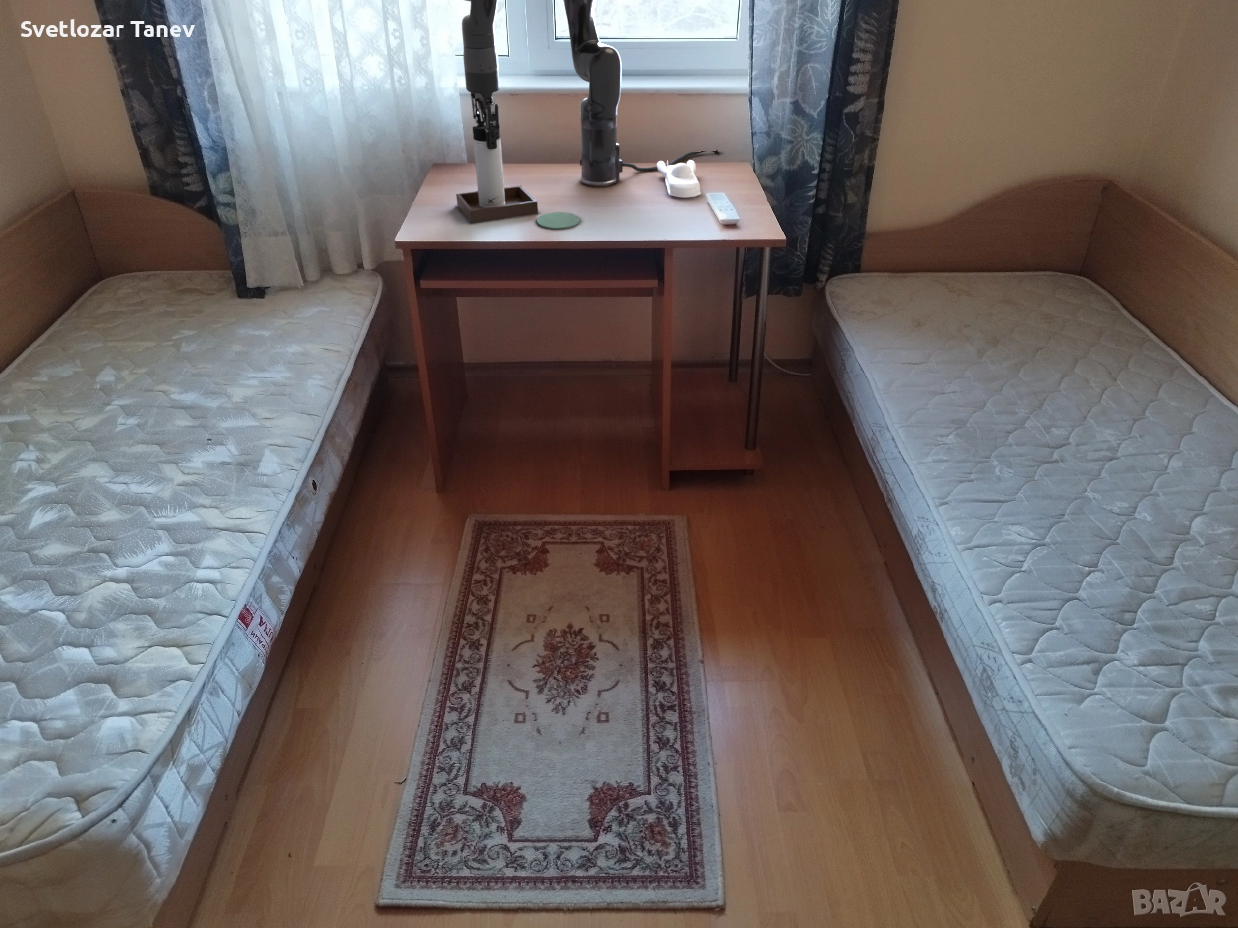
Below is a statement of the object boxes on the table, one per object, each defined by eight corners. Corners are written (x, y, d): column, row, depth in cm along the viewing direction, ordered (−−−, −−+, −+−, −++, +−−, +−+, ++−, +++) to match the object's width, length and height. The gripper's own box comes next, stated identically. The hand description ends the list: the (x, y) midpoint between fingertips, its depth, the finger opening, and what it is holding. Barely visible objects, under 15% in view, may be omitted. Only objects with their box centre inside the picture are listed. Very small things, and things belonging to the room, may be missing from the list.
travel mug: (495, 215, 208) (488, 128, 196) (474, 209, 211) (466, 124, 199) (511, 207, 212) (506, 122, 201) (490, 202, 215) (483, 117, 203)
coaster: (570, 211, 212) (570, 210, 211) (585, 225, 204) (585, 224, 204) (531, 217, 208) (531, 215, 208) (545, 232, 201) (545, 230, 201)
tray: (521, 197, 220) (520, 185, 218) (538, 213, 210) (537, 201, 209) (457, 206, 214) (456, 194, 213) (471, 223, 205) (470, 211, 203)
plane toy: (665, 200, 218) (666, 177, 215) (656, 174, 234) (656, 152, 231) (706, 199, 219) (707, 176, 216) (694, 173, 235) (695, 151, 232)
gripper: (507, 73, 189) (512, 151, 199) (488, 59, 199) (494, 134, 209) (473, 76, 186) (480, 155, 196) (456, 62, 197) (463, 138, 207)
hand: (487, 144), depth 203 cm, fingers closed on travel mug, 6 cm apart
